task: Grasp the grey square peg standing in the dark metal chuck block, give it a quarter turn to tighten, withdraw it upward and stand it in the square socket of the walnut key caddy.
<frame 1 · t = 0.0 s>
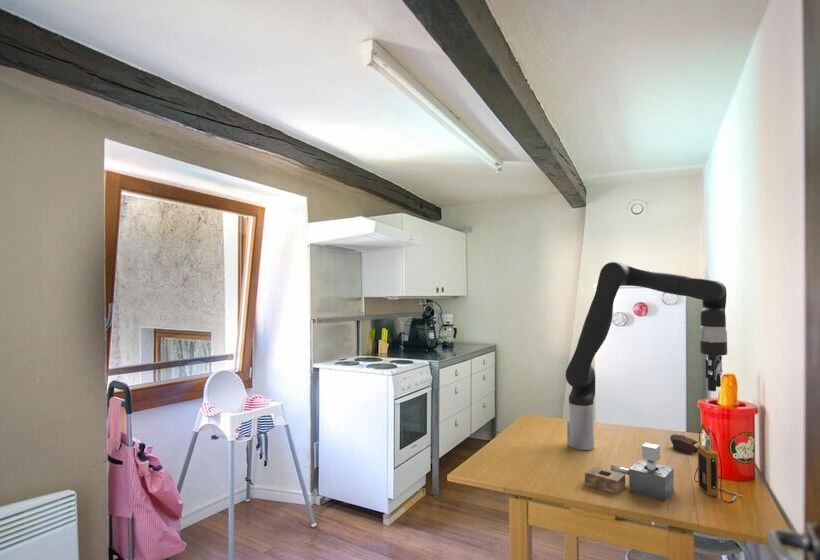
hand: (714, 388, 151), 29 cm above the table, tool pointing down, fingers open, 8 cm apart
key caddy: (605, 486, 144), on the table
multimeter: (720, 493, 139), on the table
rough brown rock chunk: (683, 451, 176), on the table
chuck: (651, 490, 141), on the table
grey square peg: (651, 484, 141), point 2 cm above the table, touching chuck
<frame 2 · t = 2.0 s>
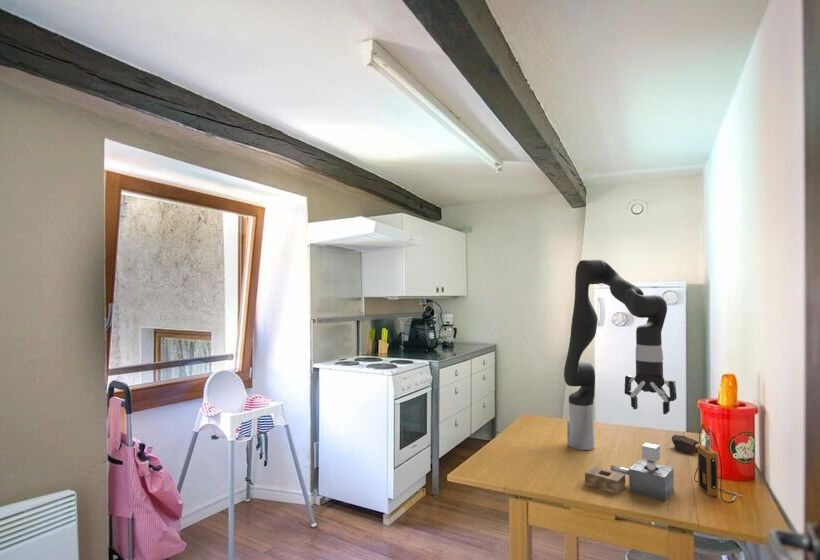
hand: (650, 411, 141), 25 cm above the table, tool pointing down, fingers open, 8 cm apart
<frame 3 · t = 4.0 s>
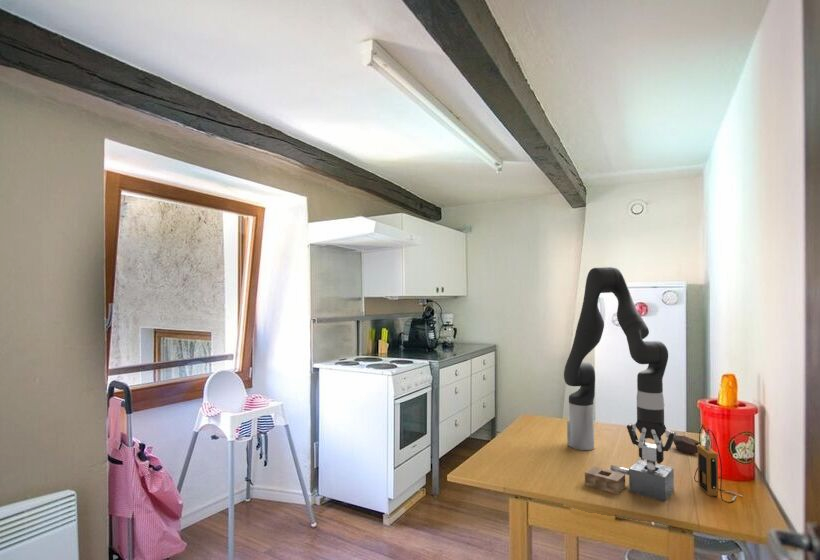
hand: (651, 460, 141), 9 cm above the table, tool pointing down, fingers closed on grey square peg, 4 cm apart
grey square peg: (651, 484, 141), point 2 cm above the table, touching chuck, gripper
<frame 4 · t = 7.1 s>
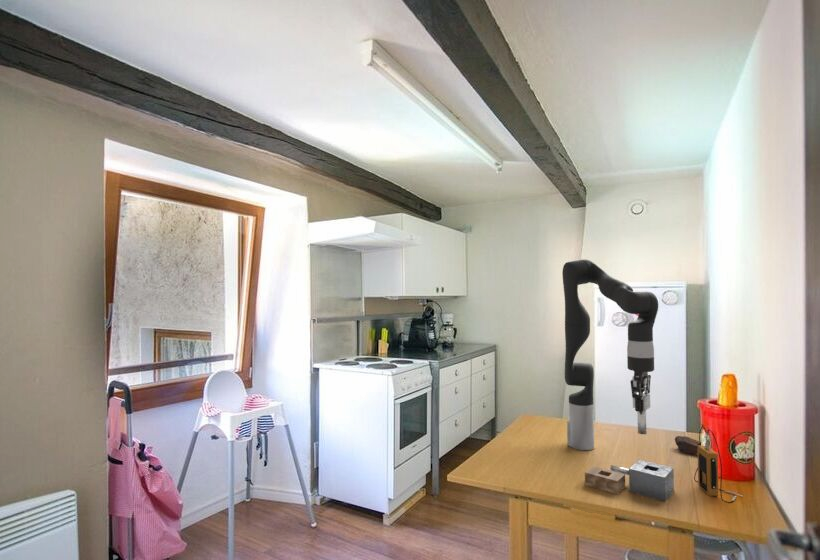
hand: (641, 409, 142), 25 cm above the table, tool pointing down, fingers closed on grey square peg, 4 cm apart
grey square peg: (642, 433, 142), point 18 cm above the table, touching gripper
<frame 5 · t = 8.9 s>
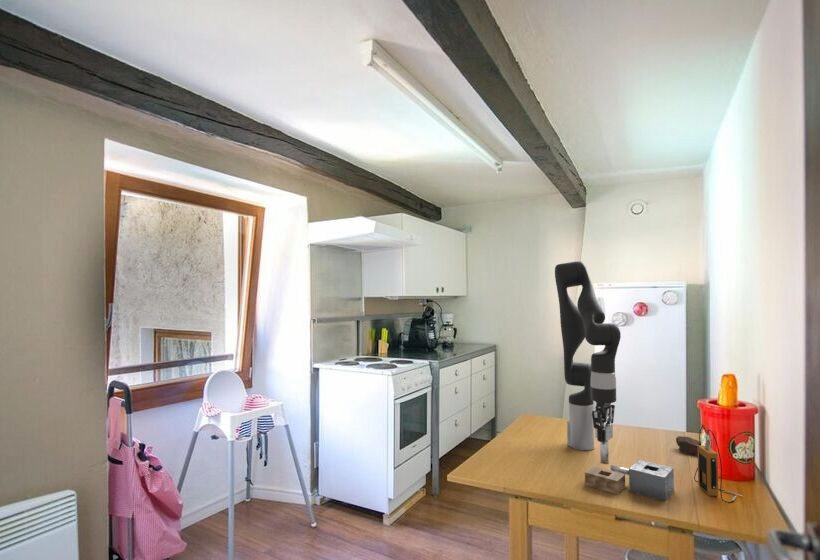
hand: (604, 439, 145), 15 cm above the table, tool pointing down, fingers closed on grey square peg, 4 cm apart
grey square peg: (604, 463, 144), point 7 cm above the table, touching gripper
when the fingers open (9 cm above the table, at t = 10.4 s): grey square peg stays where it is, resting on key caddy.
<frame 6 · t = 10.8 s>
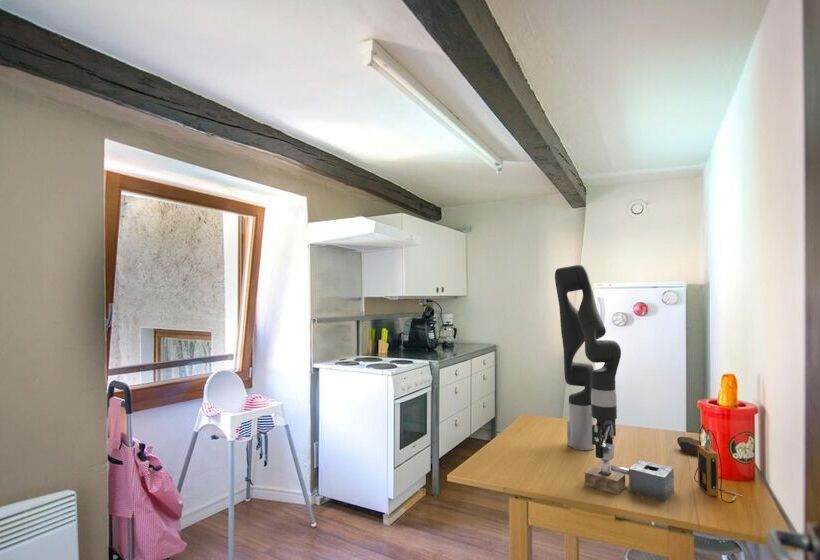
hand: (604, 454, 145), 10 cm above the table, tool pointing down, fingers open, 8 cm apart
grey square peg: (605, 482, 145), point 1 cm above the table, touching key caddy
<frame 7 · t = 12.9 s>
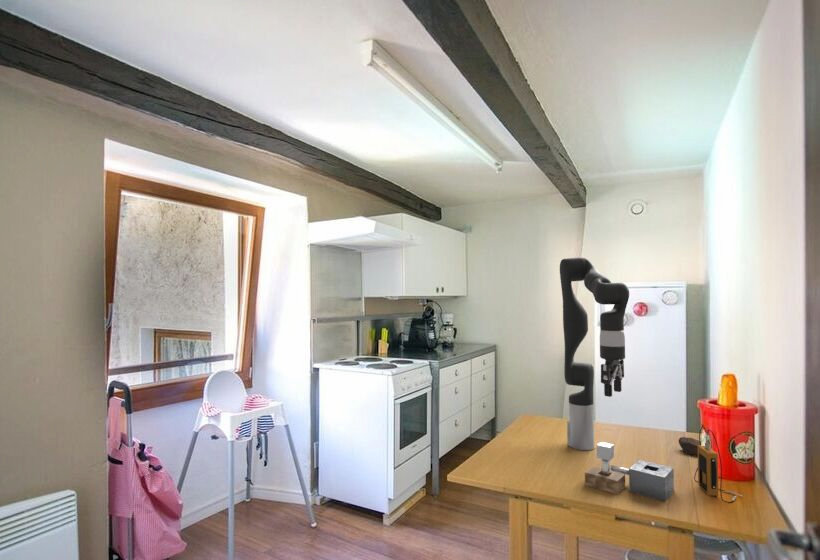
hand: (613, 393, 148), 29 cm above the table, tool pointing down, fingers open, 8 cm apart
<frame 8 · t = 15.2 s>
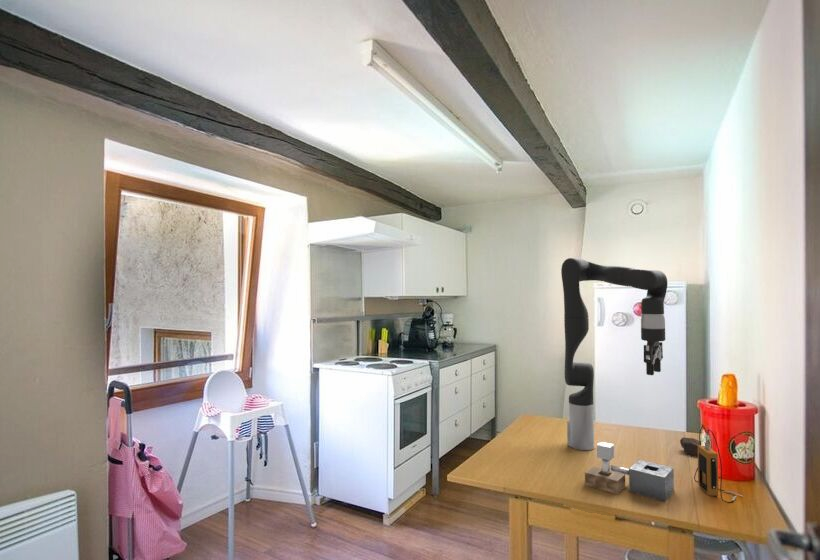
hand: (653, 373, 159), 33 cm above the table, tool pointing down, fingers open, 8 cm apart
at the end: grey square peg 0.3 cm off-centre on the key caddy, point 1.0 cm above the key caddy's base; grey square peg tilted 1°; the gripper is holding nothing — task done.
